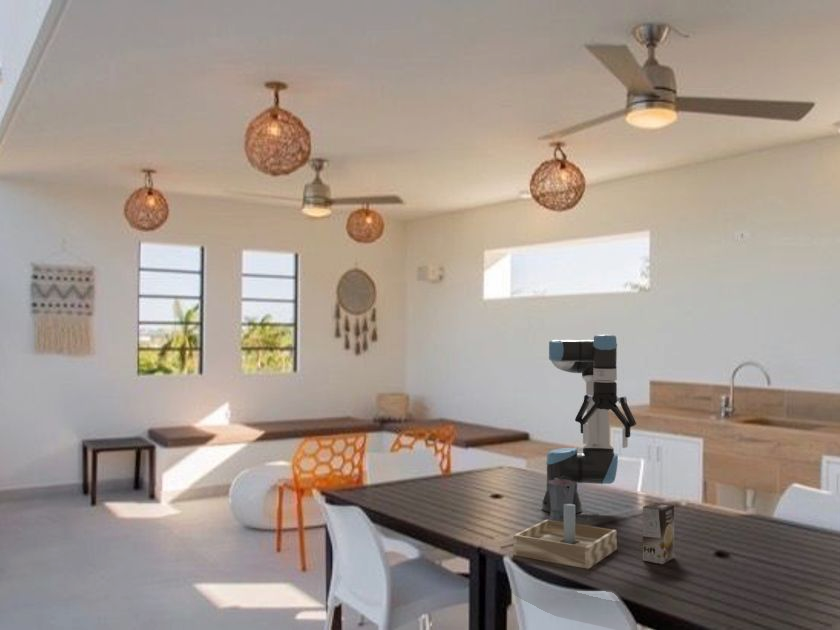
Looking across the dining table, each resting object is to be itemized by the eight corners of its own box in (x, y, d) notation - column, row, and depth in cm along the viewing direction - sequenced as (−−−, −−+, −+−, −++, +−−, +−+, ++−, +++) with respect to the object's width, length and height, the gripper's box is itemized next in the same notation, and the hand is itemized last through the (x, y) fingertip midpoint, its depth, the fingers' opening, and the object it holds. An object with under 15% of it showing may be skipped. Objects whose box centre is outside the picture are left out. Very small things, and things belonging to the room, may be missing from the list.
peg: (566, 547, 240) (566, 503, 240) (577, 549, 238) (577, 504, 238) (561, 550, 237) (561, 505, 237) (572, 552, 235) (572, 506, 235)
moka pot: (557, 539, 250) (557, 478, 250) (537, 527, 265) (537, 470, 265) (583, 537, 252) (583, 477, 253) (562, 526, 267) (562, 469, 268)
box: (546, 537, 251) (546, 519, 252) (616, 549, 238) (616, 530, 238) (513, 554, 232) (513, 535, 232) (588, 568, 218) (588, 547, 218)
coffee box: (663, 564, 222) (662, 509, 223) (642, 560, 226) (642, 506, 227) (674, 557, 229) (674, 504, 230) (654, 554, 233) (654, 501, 234)
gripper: (565, 380, 255) (565, 443, 255) (638, 383, 241) (638, 450, 241) (574, 378, 261) (574, 440, 261) (645, 382, 247) (646, 447, 247)
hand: (605, 445), depth 251 cm, fingers open, 13 cm apart
